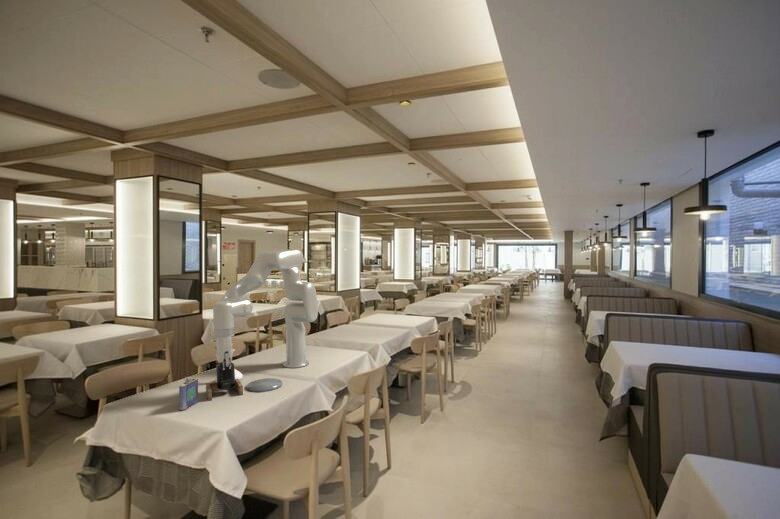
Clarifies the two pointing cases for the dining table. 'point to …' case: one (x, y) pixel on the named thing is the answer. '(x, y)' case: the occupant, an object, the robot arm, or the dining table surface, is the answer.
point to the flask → (188, 393)
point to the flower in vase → (237, 373)
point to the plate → (264, 385)
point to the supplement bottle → (228, 382)
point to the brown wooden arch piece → (213, 388)
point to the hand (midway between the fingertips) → (225, 376)
